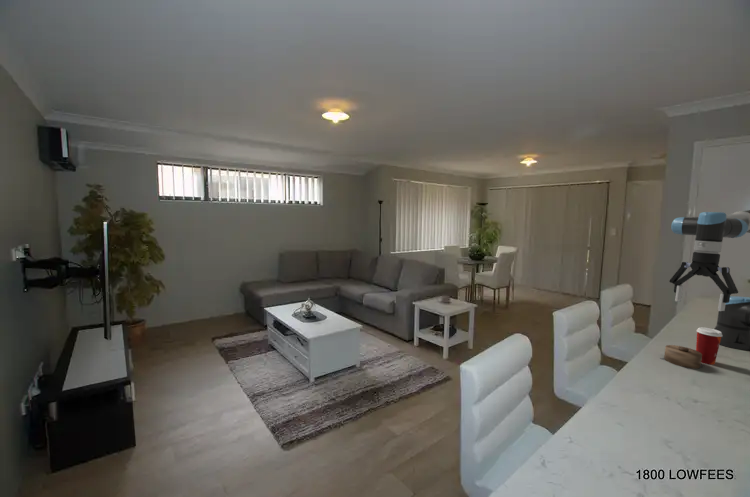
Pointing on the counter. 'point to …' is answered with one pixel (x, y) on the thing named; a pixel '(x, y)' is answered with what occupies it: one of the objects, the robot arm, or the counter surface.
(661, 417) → the counter surface
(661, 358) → the mat
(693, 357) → the lid
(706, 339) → the paper cup
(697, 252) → the robot arm
